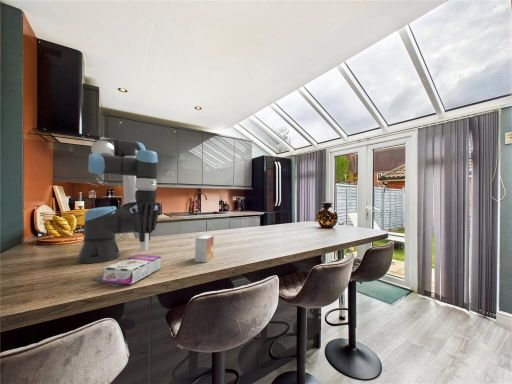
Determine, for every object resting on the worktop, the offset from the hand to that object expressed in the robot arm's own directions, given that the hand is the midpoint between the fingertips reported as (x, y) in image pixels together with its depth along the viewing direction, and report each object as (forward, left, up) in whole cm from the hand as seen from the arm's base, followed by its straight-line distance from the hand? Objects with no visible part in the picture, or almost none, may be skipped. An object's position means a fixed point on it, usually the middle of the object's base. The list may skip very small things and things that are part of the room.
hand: (144, 249), depth 85 cm
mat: (0, -8, -8) cm, 11 cm away
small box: (+12, +22, -8) cm, 26 cm away
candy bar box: (+1, +2, -5) cm, 6 cm away
